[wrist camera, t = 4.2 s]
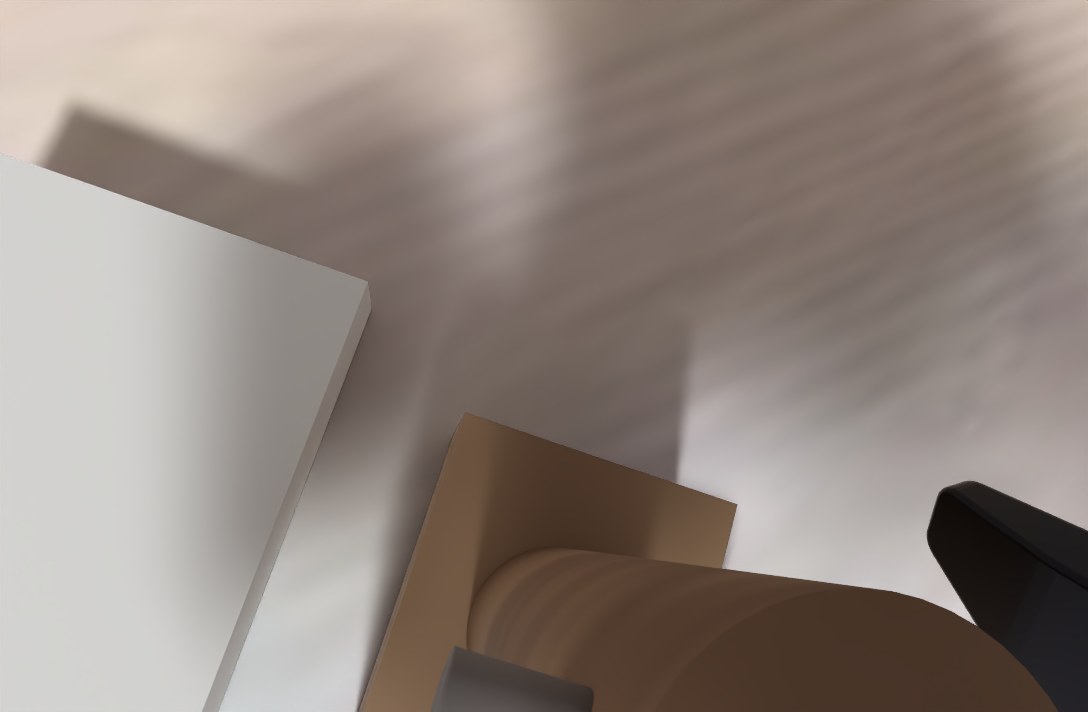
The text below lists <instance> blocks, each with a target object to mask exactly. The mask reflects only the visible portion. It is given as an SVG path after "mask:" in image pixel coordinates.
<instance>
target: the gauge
mask: <svg viewBox="0 0 1088 712" xmlns="http://www.w3.org/2000/svg"><path fill="white" fill-rule="evenodd" d="M736 508H737V504H735V503H732V502H729V501H726V500H723V499H720V498H717V497H714V496H711V495H708V494H705V493H702V492H699V491H696V490H693V489H690V488H687V487H684V486H681V485H678V484H675V483H672V482H669V481H667V480H664V479H661V478H658V477H655V476H652V475H649V474H646V473H643V472H640V471H637V470H634V469H631V468H628V467H625V466H622V465H619V464H616V463H613V462H610V461H607V460H604V459H601V458H598V457H595V456H592V455H589V454H587V453H584V452H581V451H578V450H575V449H572V448H569V447H566V446H563V445H560V444H557V443H554V442H551V441H548V440H545V439H542V438H539V437H536V436H533V435H530V434H527V433H524V432H521V431H518V430H515V429H512V428H509V427H507V426H504V425H501V424H498V423H495V422H492V421H489V420H486V419H483V418H480V417H477V416H474V415H471V414H468V413H465V414H464V416H463V418H462V420H461V422H460V423H459V425H458V427H457V429H456V431H455V432H454V434H453V437H452V440H451V443H450V446H449V449H448V451H447V454H446V457H445V460H444V463H443V466H442V469H441V472H440V475H439V478H438V481H437V484H436V487H435V489H434V492H433V495H432V498H431V501H430V504H429V507H428V510H427V513H426V516H425V519H424V522H423V525H422V528H421V530H420V533H419V536H418V539H417V542H416V545H415V548H414V551H413V554H412V557H411V560H410V563H409V566H408V568H407V571H406V574H405V577H404V580H403V583H402V586H401V589H400V592H399V595H398V598H397V601H396V604H395V607H394V609H393V612H392V615H391V618H390V621H389V624H388V627H387V630H386V633H385V636H384V639H383V642H382V645H381V647H380V650H379V653H378V656H377V659H376V662H375V665H374V668H373V671H372V674H371V677H370V680H369V683H368V686H367V688H366V691H365V694H364V697H363V700H362V703H361V706H360V709H359V712H1058V710H1057V709H1056V707H1055V706H1054V704H1053V703H1052V701H1051V699H1050V698H1049V696H1048V695H1047V694H1046V692H1045V691H1044V690H1043V689H1042V687H1041V686H1040V685H1039V684H1038V682H1037V681H1036V680H1035V679H1034V677H1033V676H1032V675H1031V674H1030V673H1029V671H1028V670H1027V669H1026V668H1025V667H1024V666H1023V665H1022V664H1021V663H1020V662H1019V661H1018V660H1017V659H1016V658H1015V657H1014V656H1013V655H1012V654H1011V653H1010V652H1009V651H1008V650H1007V649H1006V648H1005V647H1004V646H1002V645H1001V644H1000V643H999V642H997V641H996V640H995V639H993V638H992V637H991V636H989V635H988V634H987V633H985V632H984V631H983V630H981V629H980V628H979V627H978V626H976V625H974V624H972V623H971V622H969V621H967V620H965V619H964V618H962V617H960V616H958V615H957V614H955V613H953V612H952V611H950V610H947V609H945V608H942V607H940V606H937V605H935V604H933V603H930V602H928V601H925V600H923V599H920V598H916V597H912V596H908V595H904V594H900V593H897V592H893V591H886V590H878V589H871V588H863V587H856V586H848V585H841V584H833V583H826V582H818V581H811V580H803V579H796V578H788V577H781V576H773V575H766V574H758V573H751V572H743V571H736V570H728V569H721V568H722V564H723V560H724V556H725V552H726V548H727V544H728V540H729V536H730V532H731V528H732V524H733V520H734V516H735V512H736Z"/></svg>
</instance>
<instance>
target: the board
mask: <svg viewBox="0 0 1088 712" xmlns="http://www.w3.org/2000/svg"><path fill="white" fill-rule="evenodd" d="M371 309H372V305H371V298H370V291H369V284H368V281H366V280H363V279H360V278H357V277H354V276H352V275H349V274H346V273H343V272H340V271H337V270H334V269H331V268H329V267H326V266H323V265H320V264H317V263H314V262H311V261H309V260H306V259H303V258H300V257H297V256H294V255H291V254H289V253H286V252H283V251H280V250H277V249H274V248H271V247H268V246H266V245H263V244H260V243H257V242H254V241H251V240H248V239H246V238H243V237H240V236H237V235H234V234H231V233H228V232H226V231H223V230H220V229H217V228H214V227H211V226H208V225H205V224H203V223H200V222H197V221H194V220H191V219H188V218H185V217H183V216H180V215H177V214H174V213H171V212H168V211H165V210H163V209H160V208H157V207H154V206H151V205H148V204H145V203H142V202H140V201H137V200H134V199H131V198H128V197H125V196H122V195H120V194H117V193H114V192H111V191H108V190H105V189H102V188H100V187H97V186H94V185H91V184H88V183H85V182H82V181H79V180H77V179H74V178H71V177H68V176H65V175H62V174H59V173H57V172H54V171H51V170H48V169H45V168H42V167H39V166H37V165H34V164H31V163H28V162H25V161H22V160H19V159H16V158H14V157H11V156H8V155H5V154H2V153H0V712H218V710H219V708H220V705H221V702H222V700H223V697H224V694H225V692H226V689H227V687H228V684H229V681H230V679H231V676H232V673H233V671H234V668H235V666H236V663H237V660H238V658H239V655H240V652H241V650H242V647H243V645H244V642H245V639H246V637H247V634H248V632H249V629H250V626H251V624H252V621H253V618H254V616H255V613H256V611H257V608H258V605H259V603H260V600H261V597H262V595H263V592H264V590H265V587H266V584H267V582H268V579H269V577H270V574H271V571H272V569H273V566H274V563H275V561H276V558H277V556H278V553H279V550H280V548H281V545H282V542H283V540H284V537H285V535H286V532H287V529H288V527H289V524H290V521H291V519H292V516H293V514H294V511H295V508H296V506H297V503H298V501H299V498H300V495H301V493H302V490H303V487H304V485H305V482H306V480H307V477H308V474H309V472H310V469H311V466H312V464H313V461H314V459H315V456H316V453H317V451H318V448H319V445H320V443H321V440H322V438H323V435H324V432H325V430H326V427H327V425H328V422H329V419H330V417H331V414H332V411H333V409H334V406H335V404H336V401H337V398H338V396H339V393H340V390H341V388H342V385H343V383H344V380H345V377H346V375H347V372H348V370H349V367H350V364H351V362H352V359H353V356H354V354H355V351H356V349H357V346H358V343H359V341H360V338H361V335H362V333H363V330H364V328H365V325H366V322H367V320H368V317H369V314H370V312H371Z"/></svg>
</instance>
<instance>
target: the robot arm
mask: <svg viewBox="0 0 1088 712" xmlns="http://www.w3.org/2000/svg"><path fill="white" fill-rule="evenodd" d="M927 541H928V545H929V547H930V550H931V552H932V554H933V555H934V557H935V559H936V560H937V562H938V564H939V565H940V567H941V568H942V570H943V572H944V573H945V575H946V577H947V578H948V580H949V581H950V583H951V585H952V586H953V588H954V590H955V591H956V593H957V594H958V596H959V598H960V599H961V601H962V603H963V604H964V606H965V607H966V609H967V611H968V612H969V614H970V616H971V617H972V619H973V620H974V622H975V624H976V625H977V626H978V627H979V628H980V629H981V630H983V631H984V632H985V633H987V634H988V635H989V636H991V637H992V638H993V639H995V640H996V641H997V642H999V643H1000V644H1001V645H1002V646H1004V647H1005V648H1006V649H1007V650H1008V651H1009V652H1010V653H1011V654H1012V655H1013V656H1014V657H1015V658H1016V659H1017V660H1018V661H1019V662H1020V663H1021V664H1022V665H1023V666H1024V667H1025V668H1026V669H1027V670H1028V671H1029V673H1030V674H1031V675H1032V676H1033V677H1034V679H1035V680H1036V681H1037V682H1038V684H1039V685H1040V686H1041V687H1042V689H1043V690H1044V691H1045V692H1046V694H1047V695H1048V696H1049V698H1050V699H1051V701H1052V703H1053V704H1054V706H1055V707H1056V709H1057V710H1058V712H1088V531H1087V530H1085V529H1083V528H1080V527H1078V526H1076V525H1074V524H1071V523H1069V522H1067V521H1065V520H1062V519H1060V518H1058V517H1056V516H1053V515H1051V514H1049V513H1047V512H1044V511H1042V510H1040V509H1038V508H1035V507H1033V506H1031V505H1029V504H1026V503H1024V502H1022V501H1020V500H1017V499H1015V498H1013V497H1011V496H1008V495H1006V494H1004V493H1002V492H999V491H997V490H995V489H993V488H990V487H988V486H986V485H984V484H981V483H979V482H975V481H965V482H961V483H958V484H955V485H952V486H949V487H945V488H943V489H942V490H941V491H940V492H939V494H938V496H937V499H936V502H935V506H934V509H933V512H932V516H931V519H930V523H929V526H928V529H927Z"/></svg>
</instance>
